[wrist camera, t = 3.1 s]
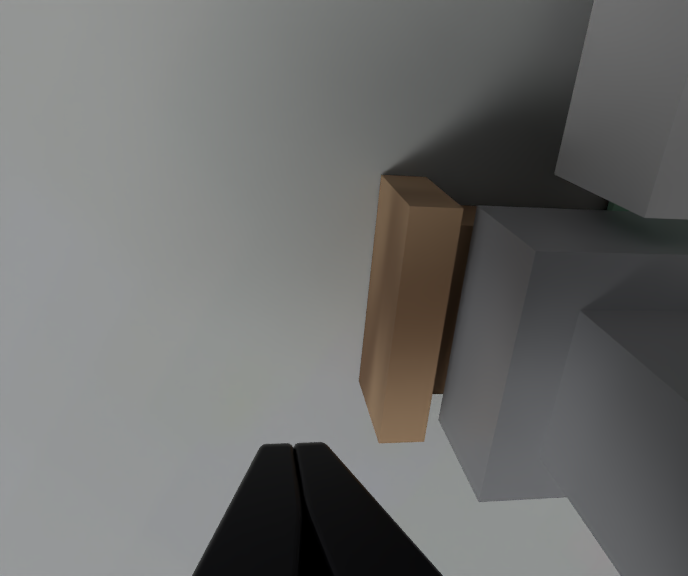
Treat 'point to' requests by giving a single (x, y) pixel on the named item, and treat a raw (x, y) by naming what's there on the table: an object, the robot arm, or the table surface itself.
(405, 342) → the rail
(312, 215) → the table surface
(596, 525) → the kicker
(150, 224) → the table surface
